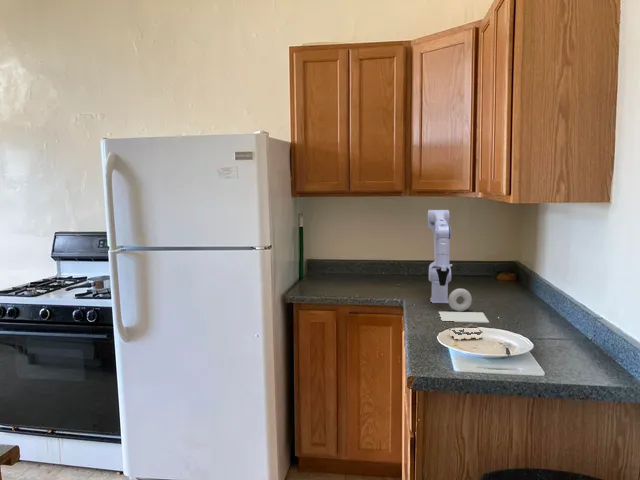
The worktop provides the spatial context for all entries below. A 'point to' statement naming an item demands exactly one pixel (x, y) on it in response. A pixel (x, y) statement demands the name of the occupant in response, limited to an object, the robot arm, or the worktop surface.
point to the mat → (464, 317)
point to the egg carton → (467, 332)
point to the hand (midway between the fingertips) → (442, 285)
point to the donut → (466, 301)
